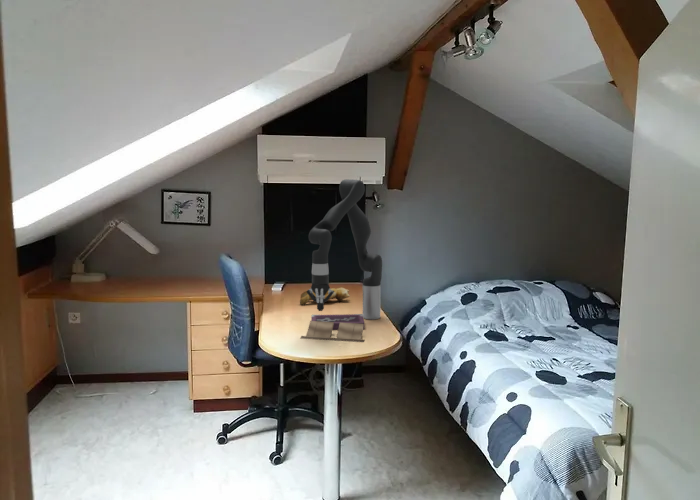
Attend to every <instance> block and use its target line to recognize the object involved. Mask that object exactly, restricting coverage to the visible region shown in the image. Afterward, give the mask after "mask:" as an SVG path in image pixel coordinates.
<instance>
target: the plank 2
mask: <svg viewBox="0 0 700 500" xmlns="http://www.w3.org/2000/svg"><path fill="white" fill-rule="evenodd" d="M363 327H364V324H358V323H340V324H339V328H338V330H337V334H336V337H335V338H346V339H362V337H363V332H364V329H363Z"/></svg>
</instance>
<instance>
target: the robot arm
mask: <svg viewBox="0 0 700 500" xmlns="http://www.w3.org/2000/svg"><path fill="white" fill-rule="evenodd" d="M365 188H366V187H365V184H364V181H362V180H359V179H342V180H341V181H340V183H339V188H338V189H339V190H338V191H339V194H340V198H341V201H340V202H338V203H337V204H335V205H334V206H332V207H331V208H329V210H328V211H327V213H326V214H325V216H324V217H322V218H323V219H321V220H320V221H319V222H318V223H317V224H316V225H314V226H313V227H312V228H311V229H310V230H309V233H308V241H309V242H310V243H311V244H312V245H319V247H318V249H314V250H313V251H312V255H311V256H312V257H311V259H312V263H311V264H312V265H311V286H310V288H309V289H307V290H306V291H307V293H308V295H309V296H310V297H311V299H312V300H311V301H312V302H315V303H316V309H317V311H318V312H323V311H324V310H325V303H326V302H328V301H329V300H328V299H329V298H330V297H331V296H332V294H333V293H334V291H333V290H331V289H330V284H329V282H330V281H329V280H330V279H329V278H330V277H329V275H330V272H329V252H330V249H331V243H332V239H333V237H332V231H334V230H336V228H337V226H338V225H339V223H341V220H342V219H343V218H344V217H345V216H346V215H347V217H348V221H349V224H350V229H351V232H352V236H353V239H354V242H355V248H356V254H357V259H358V264H359V265H358V266H359V268H360V270H361V271H363V272H366V273H367V272H368V273H369V272H370V273H371V275H370V276H369V277H366V278H363V280H362V314H363V319H366V320H378V319H381V287H382V285H381V283H382V278H383V277H382V274H383V273H382V272H383V260H382V259H383V258H382V256H381V255H380V254H375V253H369V251H368V249H367V243H368V241H369V239H370V237H371V234H372V231H371V225H370V221H369V219H368V217H367V215H366V214H365V212H363V211H362V210H361V208H360V207H359V206H358V204H357V203H358V202H359V201H360V200H361V198H362V197H363V196H364V194H365V190H366V189H365ZM312 290H313V291H312ZM328 291H329V292H328ZM313 292H314V293H315V294H316V297H315V296H314V294H313ZM327 292H328V294H329V295H328V296H327V297H326V298H325V299H324V297H325V294H326V293H327Z"/></svg>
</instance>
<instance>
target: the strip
mask: <svg viewBox="0 0 700 500" xmlns="http://www.w3.org/2000/svg"><path fill="white" fill-rule="evenodd" d="M299 339H301V340H302V339H303V340H315V341H316V340H318V341H334V342H335V341H336V342H348V343H350V342H352V343H365V339H362V338H361V339H346V338H336V337H330V338H329V337H312V336H306V335H301V336H300V338H299Z"/></svg>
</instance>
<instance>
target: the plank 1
mask: <svg viewBox="0 0 700 500" xmlns="http://www.w3.org/2000/svg"><path fill="white" fill-rule="evenodd" d="M333 325H334V322H321V321H311V320H310V321H309V324H308V328H307V331H306V334H305V336H312V337H329V338H332V333H333V330H332V329H333Z"/></svg>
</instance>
